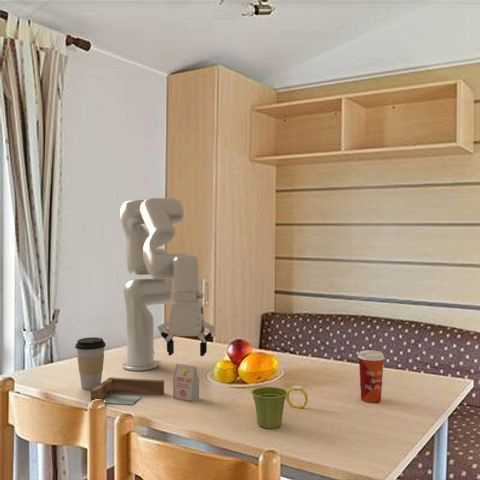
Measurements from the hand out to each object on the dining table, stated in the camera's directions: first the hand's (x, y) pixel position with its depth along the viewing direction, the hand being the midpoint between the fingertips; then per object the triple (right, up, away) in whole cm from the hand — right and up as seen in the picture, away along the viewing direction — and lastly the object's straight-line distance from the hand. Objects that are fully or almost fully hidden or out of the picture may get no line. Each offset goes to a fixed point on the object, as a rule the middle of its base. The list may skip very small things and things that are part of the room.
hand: (186, 354), depth 166 cm
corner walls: (-17, -13, +1) cm, 22 cm away
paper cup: (+54, -13, -1) cm, 56 cm away
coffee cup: (-32, -13, +13) cm, 36 cm away
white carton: (0, -13, +1) cm, 13 cm away
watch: (+32, -14, -7) cm, 35 cm away
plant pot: (+23, -14, -20) cm, 34 cm away
